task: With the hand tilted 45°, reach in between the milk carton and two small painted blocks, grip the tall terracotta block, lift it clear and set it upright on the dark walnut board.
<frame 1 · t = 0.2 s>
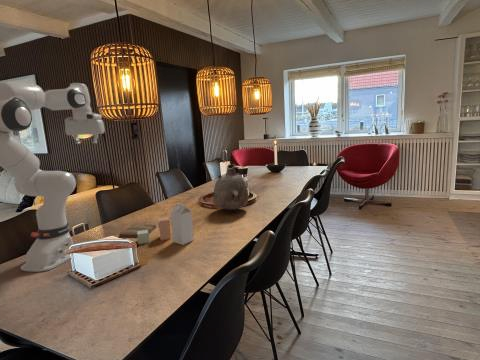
hand: (86, 143, 163), 48 cm above the table, tool pointing down, fingers open, 8 cm apart
walnut board: (138, 232, 168), on the table
sage block: (143, 241, 155), on the table
milk carton: (183, 241, 153), on the table
slate block: (186, 234, 162), on the table
jug: (231, 211, 197), on the table
terracotta block: (165, 237, 158), on the table
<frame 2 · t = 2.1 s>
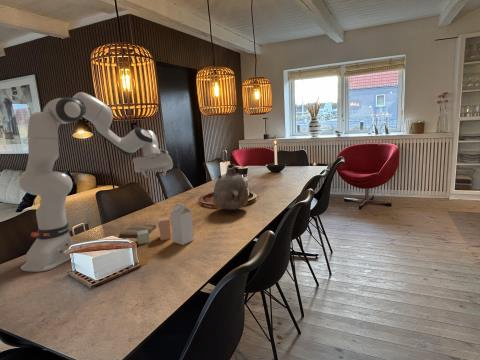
hand: (155, 176, 165), 29 cm above the table, tool tilted 45°, fingers open, 8 cm apart
nothing on the table moved.
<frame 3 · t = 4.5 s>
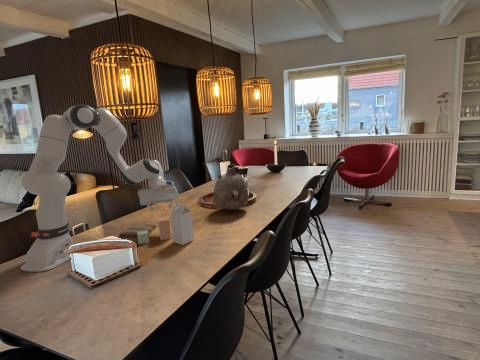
hand: (161, 209, 162), 13 cm above the table, tool tilted 45°, fingers open, 8 cm apart
nothing on the table moved.
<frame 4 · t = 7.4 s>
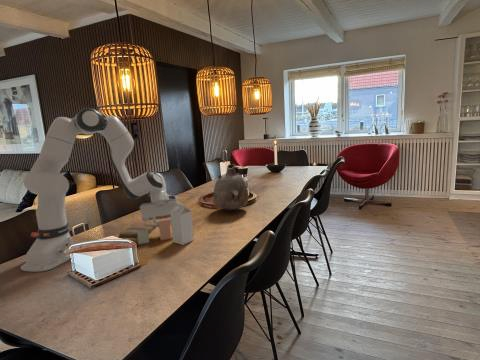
hand: (164, 225, 156), 7 cm above the table, tool tilted 45°, fingers closed on terracotta block, 5 cm apart
terracotta block: (165, 237, 158), on the table, touching gripper
everything else where it was.
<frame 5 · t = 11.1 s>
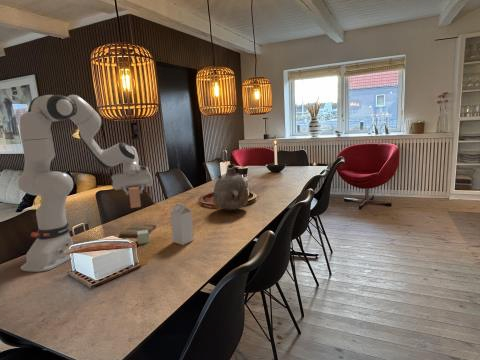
hand: (134, 193, 163), 21 cm above the table, tool tilted 45°, fingers closed on terracotta block, 5 cm apart
terracotta block: (135, 206, 165), point 14 cm above the table, touching gripper
everything else where it was.
when the fingers open (10 cm above the table, at t = 14.8 s): terracotta block drops 1 cm, resting on walnut board.
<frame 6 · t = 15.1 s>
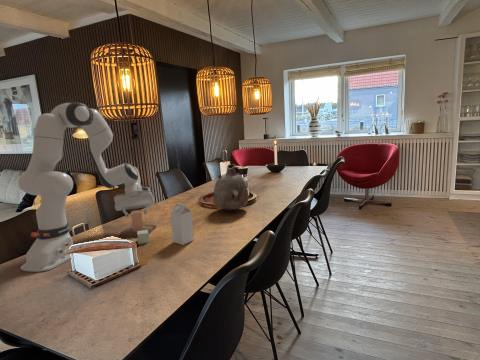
hand: (136, 214, 165), 10 cm above the table, tool tilted 45°, fingers open, 8 cm apart
terracotta block: (138, 229, 167), point 1 cm above the table, touching walnut board
everything else where it was.
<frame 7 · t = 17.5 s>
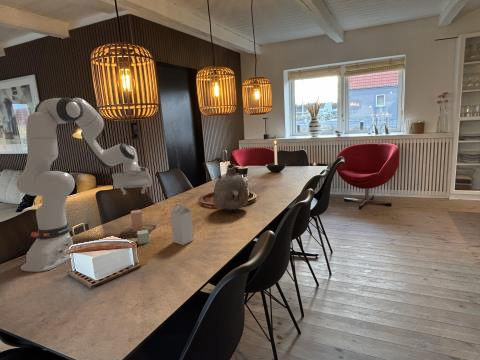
hand: (134, 193, 170), 20 cm above the table, tool tilted 40°, fingers open, 8 cm apart
nothing on the table moved.
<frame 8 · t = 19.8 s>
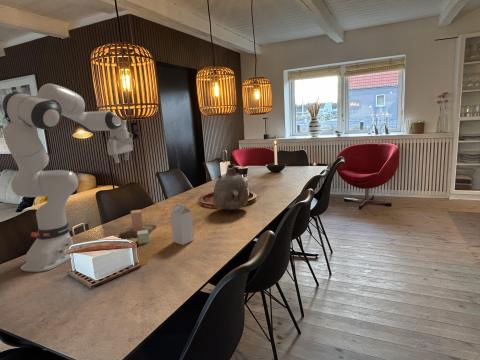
hand: (122, 161, 169), 37 cm above the table, tool pointing down, fingers open, 8 cm apart
nothing on the table moved.
at the end: terracotta block inside the target area on the walnut board (0.1 cm from its centre), point 1.5 cm above the walnut board's base; terracotta block tilted 0°; the gripper is holding nothing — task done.
